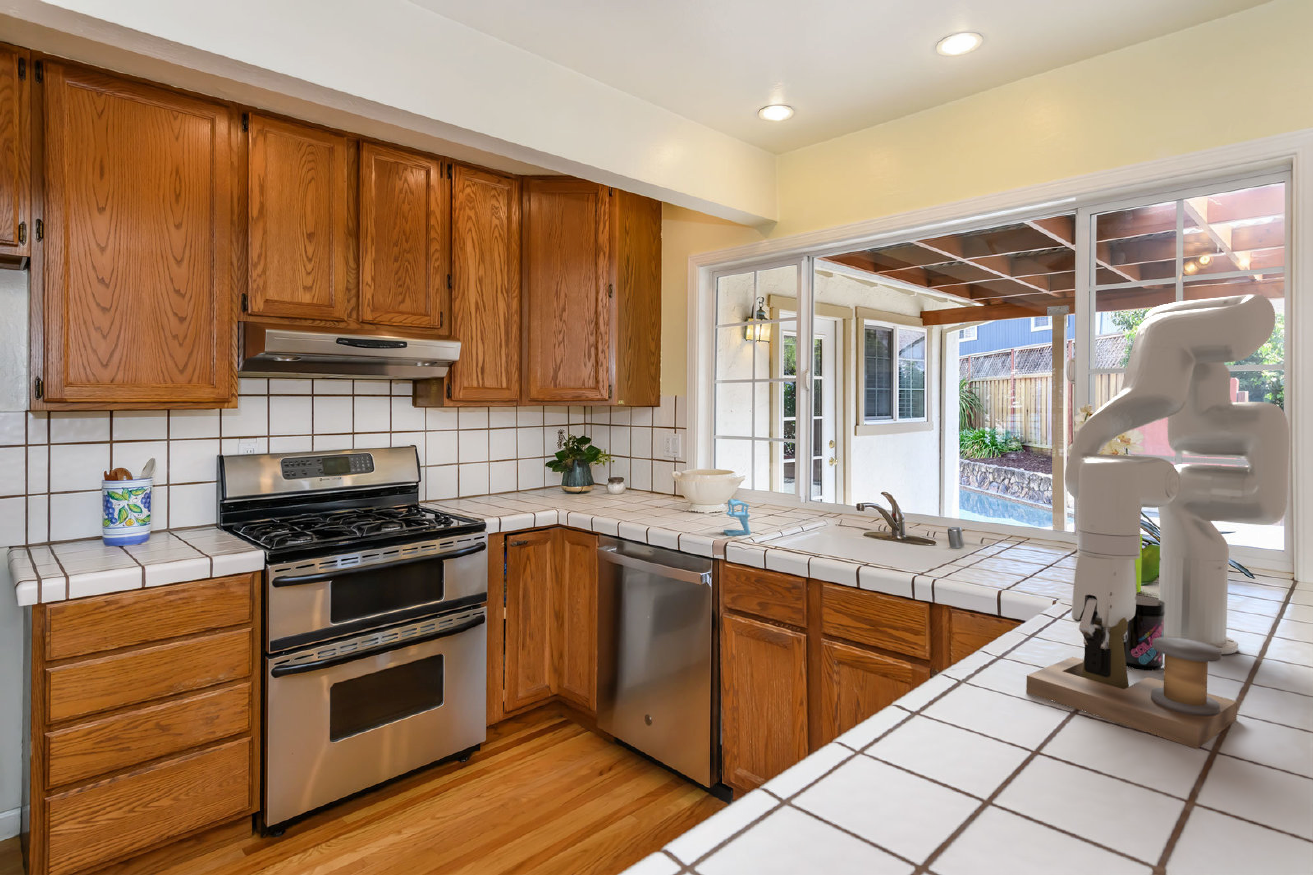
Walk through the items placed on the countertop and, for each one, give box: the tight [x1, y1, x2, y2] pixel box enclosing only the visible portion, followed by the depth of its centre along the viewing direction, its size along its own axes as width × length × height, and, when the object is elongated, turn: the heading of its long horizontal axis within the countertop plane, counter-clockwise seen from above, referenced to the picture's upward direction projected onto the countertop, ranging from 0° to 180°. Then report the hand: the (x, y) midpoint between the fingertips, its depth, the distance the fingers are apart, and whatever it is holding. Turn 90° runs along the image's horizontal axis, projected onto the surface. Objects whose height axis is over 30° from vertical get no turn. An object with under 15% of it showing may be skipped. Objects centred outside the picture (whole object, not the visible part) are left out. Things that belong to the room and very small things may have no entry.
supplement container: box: [1123, 594, 1165, 671], centre depth 109 cm, size 7×7×10 cm
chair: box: [723, 498, 751, 537], centre depth 232 cm, size 8×8×12 cm
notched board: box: [1025, 637, 1238, 750], centre depth 93 cm, size 14×20×10 cm
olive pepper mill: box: [1081, 618, 1130, 689], centre depth 98 cm, size 6×6×11 cm
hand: (1105, 669), depth 98 cm, fingers open, 4 cm apart
